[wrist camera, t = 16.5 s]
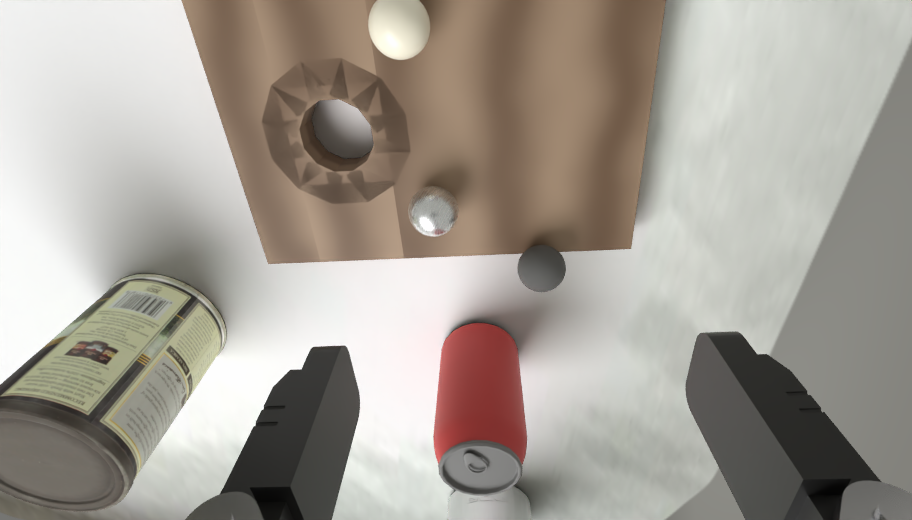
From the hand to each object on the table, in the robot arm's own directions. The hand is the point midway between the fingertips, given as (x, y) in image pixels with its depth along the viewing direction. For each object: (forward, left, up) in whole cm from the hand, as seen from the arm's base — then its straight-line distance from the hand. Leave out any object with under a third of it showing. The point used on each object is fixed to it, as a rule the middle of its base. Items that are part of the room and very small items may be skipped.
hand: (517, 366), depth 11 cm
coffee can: (-16, +29, -23) cm, 40 cm away
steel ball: (-5, +4, -19) cm, 20 cm away
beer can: (-20, +2, -23) cm, 31 cm away
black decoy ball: (-9, -3, -19) cm, 21 cm away
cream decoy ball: (+6, +5, -19) cm, 20 cm away
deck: (0, +4, -23) cm, 23 cm away
